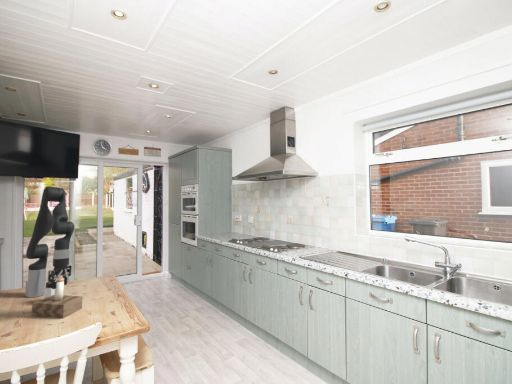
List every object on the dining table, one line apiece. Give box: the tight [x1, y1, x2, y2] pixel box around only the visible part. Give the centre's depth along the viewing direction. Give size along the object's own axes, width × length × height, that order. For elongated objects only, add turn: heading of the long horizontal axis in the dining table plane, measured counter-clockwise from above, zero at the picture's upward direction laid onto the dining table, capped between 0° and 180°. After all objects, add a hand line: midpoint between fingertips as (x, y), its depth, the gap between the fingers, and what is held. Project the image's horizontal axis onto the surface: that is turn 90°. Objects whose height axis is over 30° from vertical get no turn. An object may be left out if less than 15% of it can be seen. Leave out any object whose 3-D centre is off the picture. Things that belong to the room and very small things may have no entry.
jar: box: [43, 281, 55, 299], centre depth 169 cm, size 9×8×12 cm
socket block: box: [31, 294, 84, 319], centre depth 153 cm, size 18×14×7 cm
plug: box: [54, 277, 65, 301], centre depth 153 cm, size 4×4×13 cm
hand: (59, 286), depth 153 cm, fingers open, 7 cm apart
